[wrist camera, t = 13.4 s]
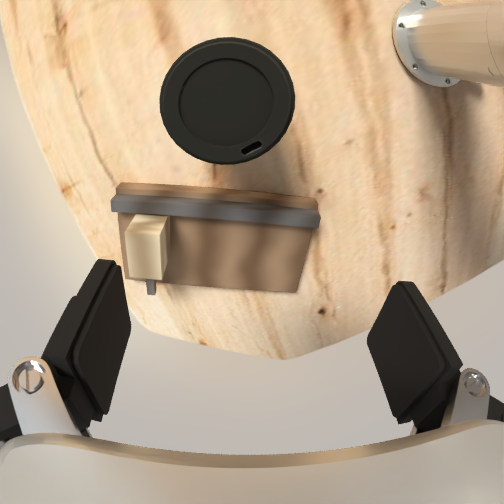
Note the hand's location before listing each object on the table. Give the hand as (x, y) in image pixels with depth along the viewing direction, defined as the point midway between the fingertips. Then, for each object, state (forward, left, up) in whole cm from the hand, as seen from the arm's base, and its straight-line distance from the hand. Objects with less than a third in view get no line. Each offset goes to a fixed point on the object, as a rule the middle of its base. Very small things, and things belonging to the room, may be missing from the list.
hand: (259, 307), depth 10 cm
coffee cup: (+2, -5, -28) cm, 29 cm away
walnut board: (+2, +14, -28) cm, 32 cm away
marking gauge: (+10, +15, -26) cm, 32 cm away
